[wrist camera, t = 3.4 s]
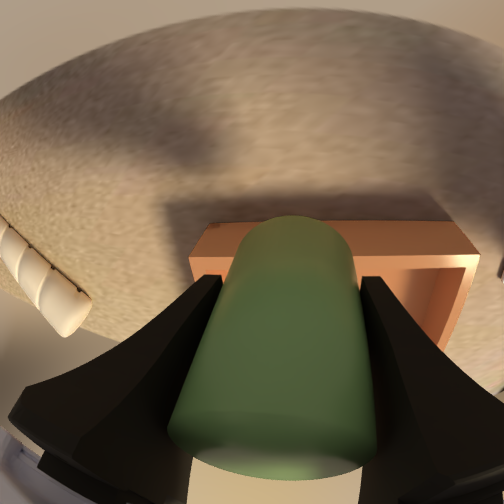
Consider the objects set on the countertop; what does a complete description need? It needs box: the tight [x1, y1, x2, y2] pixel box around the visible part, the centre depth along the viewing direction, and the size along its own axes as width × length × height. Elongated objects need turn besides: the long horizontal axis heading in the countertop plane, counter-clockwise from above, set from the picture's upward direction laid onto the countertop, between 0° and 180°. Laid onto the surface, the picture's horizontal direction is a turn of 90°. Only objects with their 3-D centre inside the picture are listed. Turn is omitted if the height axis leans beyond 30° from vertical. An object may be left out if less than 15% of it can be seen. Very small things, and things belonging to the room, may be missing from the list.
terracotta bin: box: [188, 220, 481, 352], centre depth 19 cm, size 16×12×4 cm
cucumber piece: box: [167, 215, 377, 481], centre depth 8 cm, size 4×4×7 cm
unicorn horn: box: [0, 216, 92, 337], centre depth 21 cm, size 5×24×5 cm, turn 47°
